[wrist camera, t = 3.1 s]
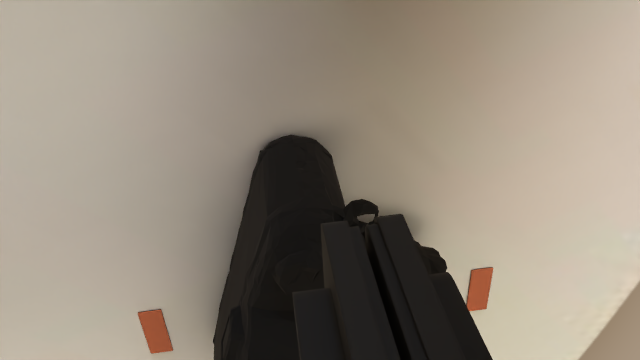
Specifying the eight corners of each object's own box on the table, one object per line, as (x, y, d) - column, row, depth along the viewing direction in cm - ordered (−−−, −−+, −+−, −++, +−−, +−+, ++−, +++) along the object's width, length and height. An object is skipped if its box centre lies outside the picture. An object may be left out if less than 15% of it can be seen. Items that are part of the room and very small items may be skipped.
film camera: (358, 361, 34) (393, 516, 26) (198, 346, 31) (186, 513, 24) (459, 150, 26) (548, 284, 19) (258, 109, 24) (268, 244, 16)
